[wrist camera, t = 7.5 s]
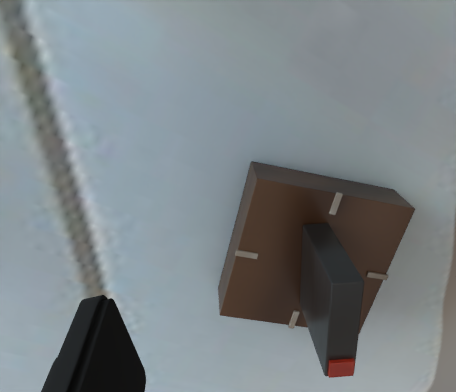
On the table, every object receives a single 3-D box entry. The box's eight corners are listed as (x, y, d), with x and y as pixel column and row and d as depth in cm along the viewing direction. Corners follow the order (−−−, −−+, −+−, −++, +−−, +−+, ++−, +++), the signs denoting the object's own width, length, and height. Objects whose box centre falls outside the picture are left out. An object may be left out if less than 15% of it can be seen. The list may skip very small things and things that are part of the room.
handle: (302, 224, 25) (333, 286, 19) (328, 222, 25) (367, 284, 19) (299, 304, 27) (325, 380, 21) (323, 302, 27) (356, 378, 21)
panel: (395, 188, 27) (418, 208, 25) (345, 308, 31) (360, 337, 28) (250, 159, 26) (256, 177, 23) (216, 288, 30) (218, 318, 27)
